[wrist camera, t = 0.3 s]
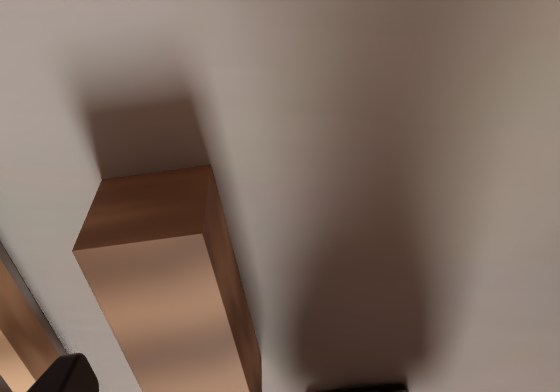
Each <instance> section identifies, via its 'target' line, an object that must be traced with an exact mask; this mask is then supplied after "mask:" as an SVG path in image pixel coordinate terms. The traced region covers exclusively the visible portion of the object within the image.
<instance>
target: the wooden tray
mask: <svg viewBox="0 0 560 392" xmlns="http://www.w3.org/2000/svg"><path fill="white" fill-rule="evenodd" d="M65 354H67V353H66V351H65V350H64V348H63V346H62V345H61V343H60V341H59V340H58V338H57V336H56V335H55V333H54V331H53V330H52V328H51V326H50V325H49V323H48V321H47V320H46V318H45V316H44V315H43V313H42V311H41V310H40V308H39V306H38V305H37V303H36V301H35V300H34V298H33V296H32V295H31V293H30V291H29V290H28V288H27V286H26V284H25V283H24V281H23V279H22V278H21V276H20V274H19V273H18V271H17V269H16V268H15V266H14V264H13V263H12V261H11V259H10V258H9V256H8V254H7V253H6V251H5V249H4V248H3V246H2V244H1V243H0V392H26V391H27V390H28V389H29V388H30V387H31V386H32V385H33V384H34V383H35V382H36V381H37V379H38V378H39V377H40V376H41V375H42V374H43V373H44V372H45V371H46V370H47V368H48V367H49V366H50V365H51V364H52V363H53V362H54V361H55V360H56V359H57V358H58V357H59V356H61V355H65Z"/></svg>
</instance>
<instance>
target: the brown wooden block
mask: <svg viewBox="0 0 560 392" xmlns="http://www.w3.org/2000/svg"><path fill="white" fill-rule="evenodd" d="M72 252H73V254H74V256H75V258H76V260H77V262H78V264H79V266H80V268H81V270H82V272H83V274H84V276H85V278H86V280H87V282H88V284H89V286H90V288H91V290H92V292H93V294H94V296H95V298H96V300H97V302H98V304H99V306H100V308H101V310H102V312H103V314H104V316H105V318H106V320H107V322H108V324H109V326H110V328H111V330H112V332H113V334H114V336H115V338H116V340H117V342H118V344H119V346H120V348H121V350H122V352H123V354H124V356H125V358H126V360H127V362H128V364H129V366H130V368H131V370H132V372H133V374H134V376H135V378H136V380H137V382H138V384H139V386H140V388H141V390H142V392H262V368H261V356H260V352H259V348H258V344H257V340H256V337H255V333H254V329H253V325H252V321H251V317H250V313H249V310H248V306H247V302H246V298H245V294H244V290H243V286H242V283H241V279H240V275H239V271H238V267H237V263H236V259H235V256H234V252H233V248H232V244H231V240H230V236H229V232H228V229H227V225H226V221H225V217H224V213H223V209H222V205H221V202H220V198H219V194H218V190H217V186H216V182H215V178H214V175H213V171H212V167H211V165H207V166H200V167H193V168H185V169H178V170H171V171H164V172H157V173H150V174H142V175H135V176H128V177H121V178H114V179H106V180H102V181H101V183H100V186H99V188H98V191H97V193H96V195H95V198H94V200H93V202H92V205H91V207H90V210H89V212H88V214H87V217H86V219H85V221H84V224H83V226H82V229H81V231H80V233H79V236H78V238H77V241H76V243H75V245H74V248H73V250H72Z"/></svg>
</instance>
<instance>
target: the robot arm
mask: <svg viewBox="0 0 560 392" xmlns="http://www.w3.org/2000/svg"><path fill="white" fill-rule="evenodd" d="M26 392H99V383H98V380H97V377H96V375H95V374H94V372H93V370H92V368H91V366H90V364H89V362H88V360H87V358H86V357H85V355H83V354H82V353H74V354H65V355H61V356H59V357H58V358H57V359H56V360H55V361H54V362H53V363H52V364H51V365H50V366H49V367H48V368H47V370H46V371H45V372H44V373H43V374H42V375H41V376H40V377H39V378H38V379H37V381H36V382H35V383H34V384H33V385H32V386H31V387H30V388H29V389H28V390H27V391H26ZM338 392H409V391H408V388H407V386H406V385H391V386H382V387H373V388H365V389H356V390H347V391H338Z"/></svg>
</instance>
